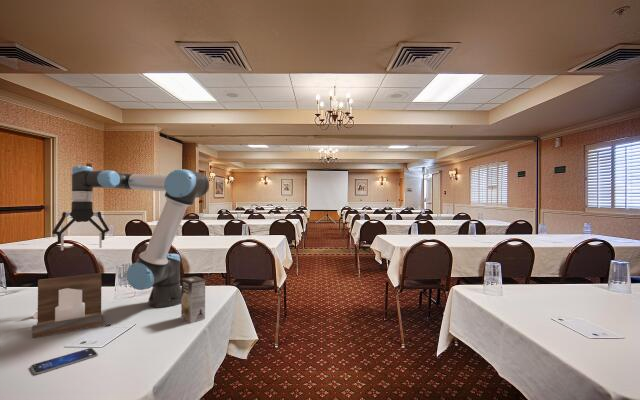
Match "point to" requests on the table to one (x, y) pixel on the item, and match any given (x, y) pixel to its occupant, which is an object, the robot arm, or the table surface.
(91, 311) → the wooden arch stand
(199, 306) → the coffee box
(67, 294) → the white stepped block
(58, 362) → the smartphone
